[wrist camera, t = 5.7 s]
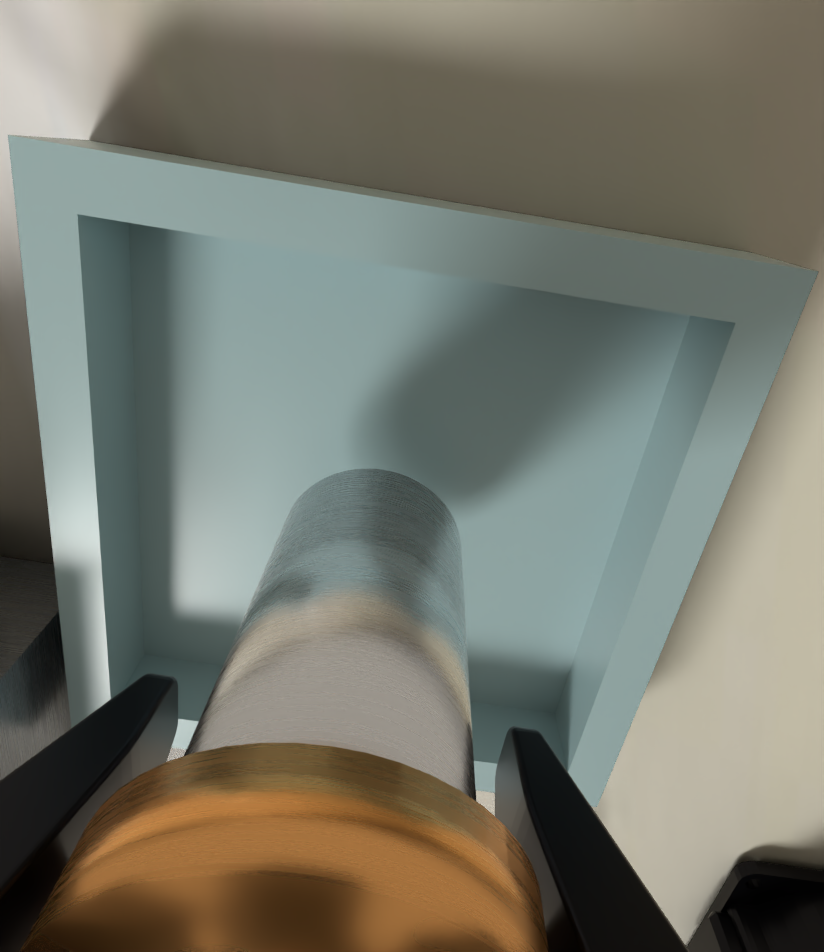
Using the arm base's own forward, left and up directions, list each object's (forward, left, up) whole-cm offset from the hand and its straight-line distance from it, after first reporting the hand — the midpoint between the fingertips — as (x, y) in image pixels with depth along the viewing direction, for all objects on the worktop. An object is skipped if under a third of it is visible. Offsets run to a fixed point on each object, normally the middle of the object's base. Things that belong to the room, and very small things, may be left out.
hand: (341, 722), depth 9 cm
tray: (0, 0, -7) cm, 7 cm away
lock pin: (0, 0, -4) cm, 4 cm away
